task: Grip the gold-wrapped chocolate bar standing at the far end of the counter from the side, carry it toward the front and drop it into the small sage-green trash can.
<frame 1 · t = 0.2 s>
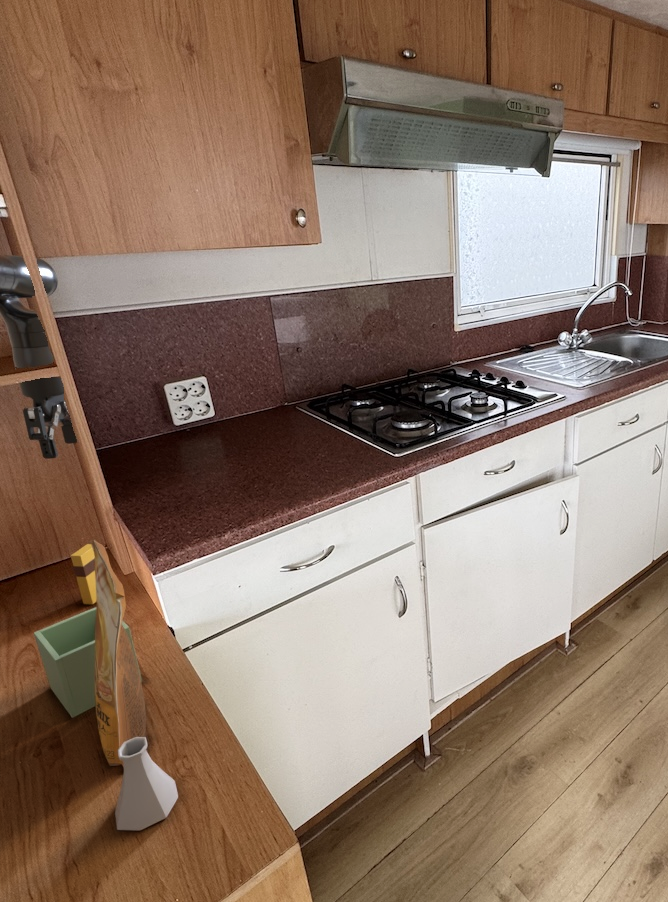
hand: (62, 450, 113), 29 cm above the counter, tool pointing down, fingers open, 8 cm apart
trash can: (96, 684, 94), on the counter
flask: (147, 807, 75), on the counter
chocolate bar: (96, 597, 117), on the counter
pancake mix bag: (130, 729, 86), on the counter
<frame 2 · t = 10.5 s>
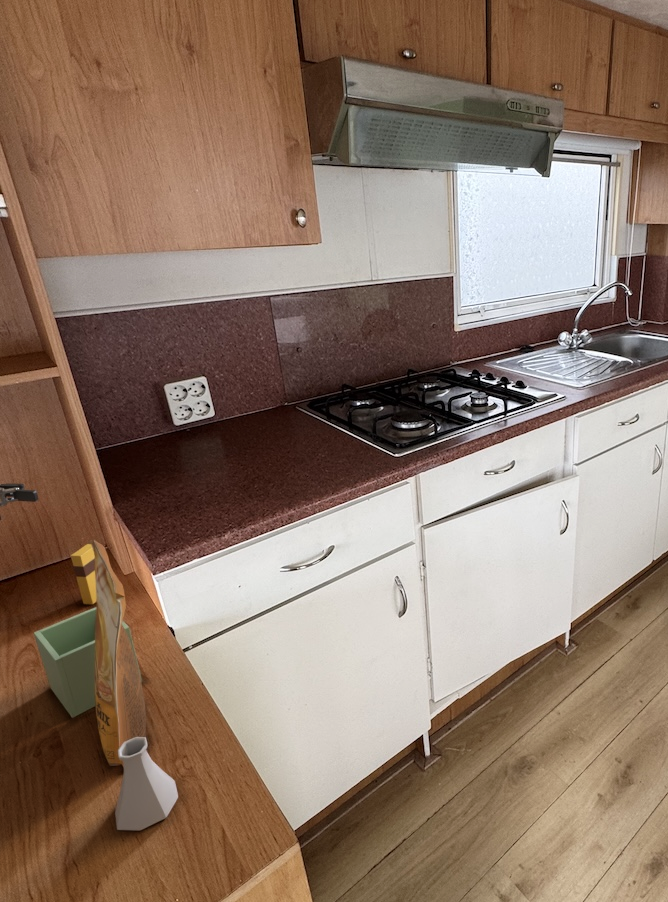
hand: (18, 505, 110), 20 cm above the counter, tool horizontal, fingers open, 8 cm apart
nothing on the counter moved.
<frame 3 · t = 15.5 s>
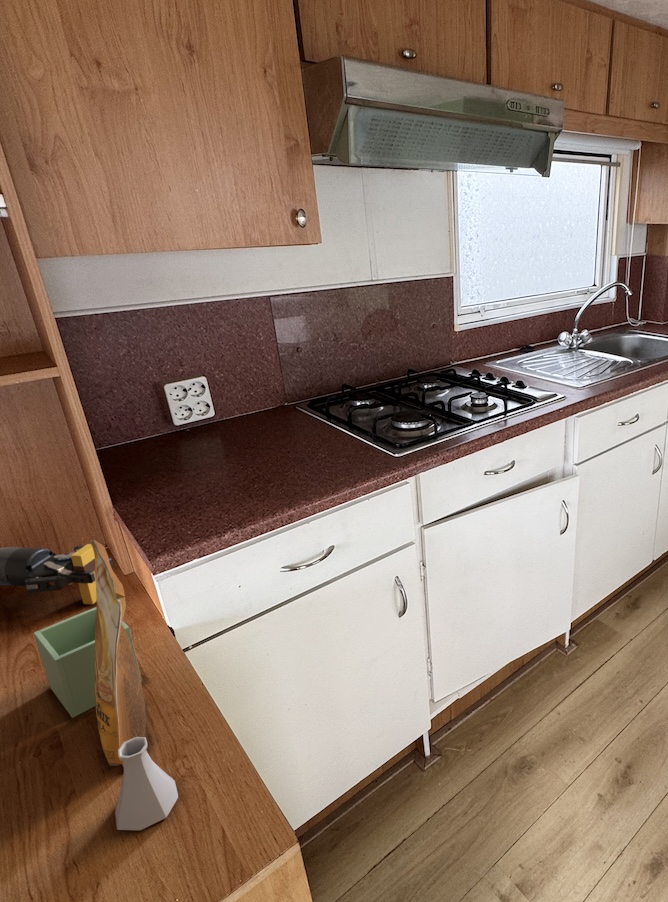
hand: (101, 570, 114), 7 cm above the counter, tool horizontal, fingers closed on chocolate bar, 4 cm apart
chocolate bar: (96, 597, 117), on the counter, touching gripper
everything else where it was.
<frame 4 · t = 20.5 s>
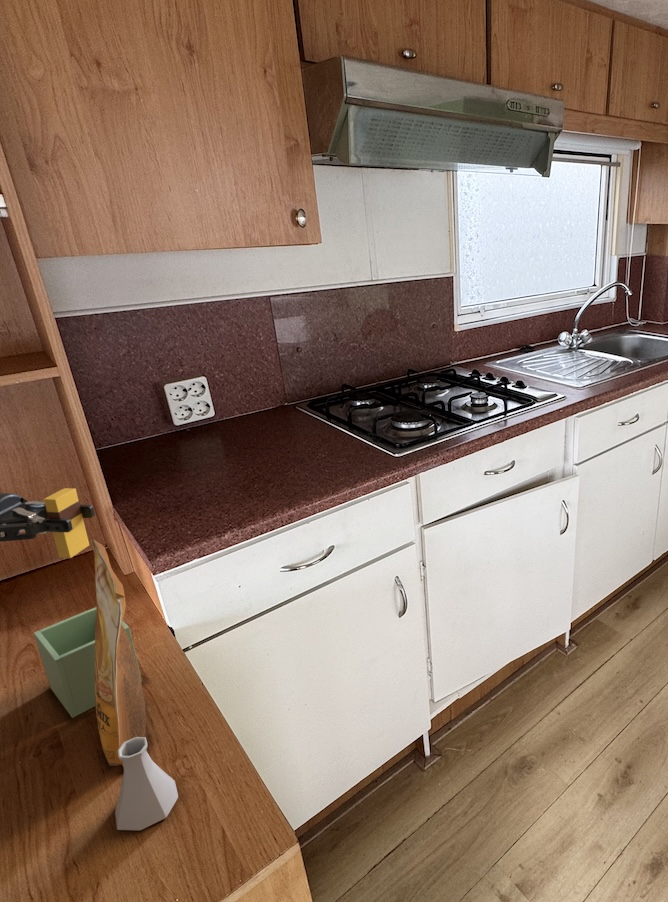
hand: (81, 518, 98), 24 cm above the counter, tool horizontal, fingers closed on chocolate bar, 4 cm apart
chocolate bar: (74, 551, 100), point 17 cm above the counter, touching gripper
everything else where it was.
when the fingers open (12 cm above the counter, at t = 25.6 s): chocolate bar drops 5 cm, resting on trash can.
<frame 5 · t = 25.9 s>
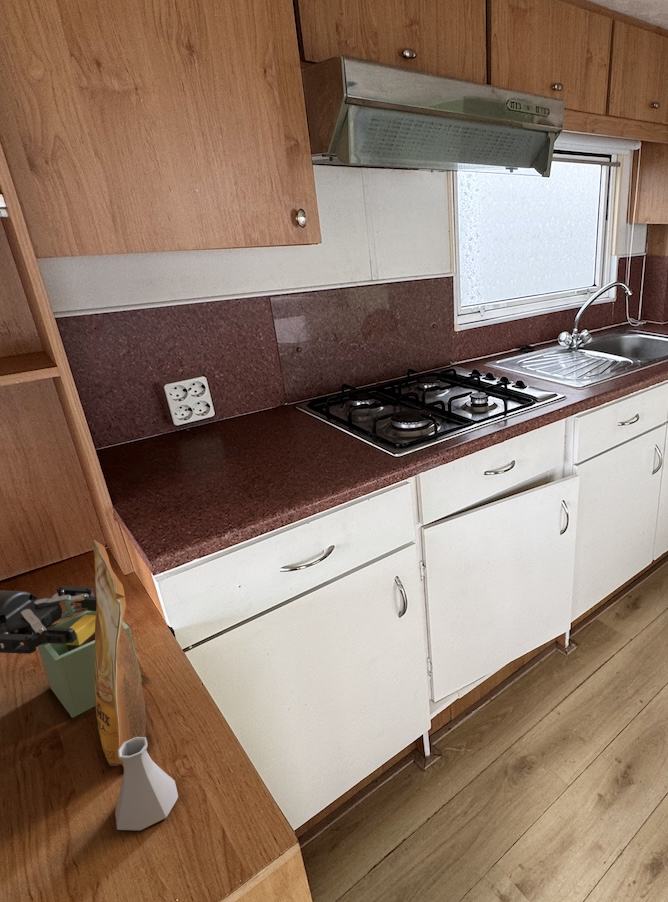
hand: (92, 619, 90), 13 cm above the counter, tool horizontal, fingers open, 7 cm apart
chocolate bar: (95, 680, 94), point 1 cm above the counter, touching trash can
everything else where it was.
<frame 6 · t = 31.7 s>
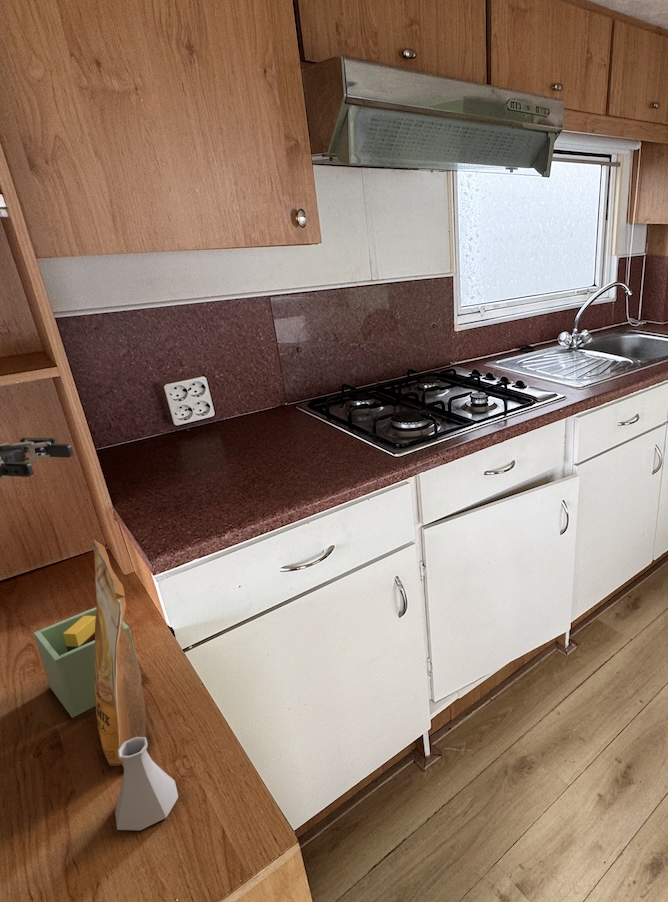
hand: (51, 460, 96), 34 cm above the counter, tool horizontal, fingers open, 8 cm apart
nothing on the counter moved.
at the end: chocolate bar inside the target area in the trash can (0.1 cm from its centre), point 0.8 cm above the trash can's base; the gripper is holding nothing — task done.
